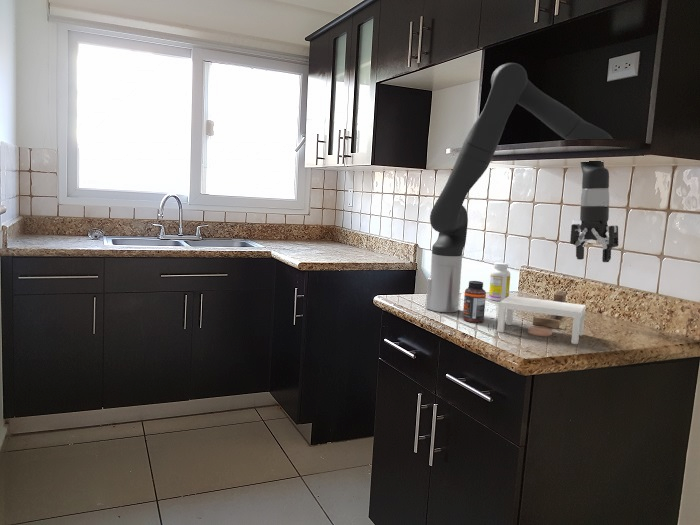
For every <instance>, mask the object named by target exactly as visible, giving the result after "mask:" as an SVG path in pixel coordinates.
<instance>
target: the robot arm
mask: <svg viewBox="0 0 700 525" xmlns="http://www.w3.org/2000/svg"><path fill="white" fill-rule="evenodd" d="M490 84H491V85H490V86H491V88H490V91H489V94H488V97H487V100H486V103H485V104H484V107H483V109H482V111H481V113H479V116H478V118H477V119H476V120H475V122H474V123H473V125H472V127H471V128H470V130H469V132H468V133H467V135H466V137H465V139H464V141H463V143H462V146H461V148H460V150H459V152H458V156H457V158H456V160H455V163H454V165H453V167H452V170H451V172H450V174H449V177H448V179H447V181H446V183H445V186H444V187H443V189H442V191H441V193H440V194H439V196H438V198H437V200H436V201H435V203H434V205H433V207H432V208H431V211H430V215H429V222H430V226H431V228H432V229H433V230H434V231H435V232H437V233H438V237H437V238H436V240H435V242H434V243H433V244H432V247H431V263H430V277H428V278H427V289H426V303H425V304H426V306H425V308H426V310H430V311H433V312H440V313H457V312H458V311H459V306H460V293H461V292H460V290H461V278H462V277H461V275H462V262H463V253H464V252H463V251H464V248H465V245H466V244H467V234H468V233H467V232H468V224H469V217H468V216H469V215H468V211H467V209H466V207H465V206H464V205H463V204H464V201H465V199H466V197H467V195H468V194H469V192H470V191H471V189H472V188H473V187H474V186H475V184H476V183H477V182H478V181H479V180H480V179H481V177H482V176H483V174H484V173H485V172H486V170H487V169H488V168H489V166H490V164H491V161H492V159H493V157H494V154H495V153H496V150H497V147H498V145H499V143H500V140H501V138H502V135H503V132H504V130H505V128H506V127H505V126H506V124H507V121H508V119H509V117H510V115H511V114H512V111H513V110H514V107H515V106H516V105H519V106H521V107H523V109H525V110H526V111H528V112H529V113H531V114H532V115H533V116H535V117H536V118H537V119H539V120H540V122H541V123H543V124H545V126H547V127H548V128H549V129H550V130H552V131H553V132H554V133H555V134H557V135H558V136H560V137H561V138H562V139H564V140H566V141H567V140H578V139H613V137H612V136H611V135H610V134H609V133H608V132H607V131H605V130H603V129H602V128H600V127H598V126H596V125H594V124H592V123H590V122H587V121H586V120H585V119H583V118H582V117H581V116H579V115H578V114H577V113H575V111H573V110H571V109H570V108H569V107H567V106H566V105H564V104H562V103H560V102H559V101H558V100H556V99H554V98H552V97H551V96H549V95H548V94H547V93H544V92H543V91H542V90H541V89H539V88H538V87H536V86H535V85H534V84H533V83H532V81H530V80H529V79H528V73H527V71H526V69H525V68H524V66H522V65H521V64H519V63H517V62H506V63H504V64H501V65H499V66H498V67H497V68H495V70H494V71H493V72H492V74H491V78H490ZM580 167H581V170H582V171H581V172H582V180H581V181H582V182H581V184H582V185H581V193H580V194H581V195H580V214H579V216H580V218H579V220H580V222H581V224H580V223H575V224H571V226H570V240H569V242H570V245H574V247H575V257H576V259H577V260H583V259H584V258H585V246H584V245H585V244H586V243H587V242H588V241H589V240H590V241H591V240H592V241H597V242H598V243H599V244H601V246H602V248H603V249H602V257H601V259H602V260H601V261H602V263H609V262H610V261H611V259H612V249H613V248H616V247H617V248H618V247H619V226H618V225H608V221H609V220H610V218H609V217H610V215H609V214H610V191H609V190H610V189H609V188H610V173H609V169H608V168H606V167H605V161H604V162H601V161H589V162H580ZM607 233H608V235H607Z"/></svg>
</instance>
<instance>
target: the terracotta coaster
mask: <svg viewBox="0 0 700 525" xmlns="http://www.w3.org/2000/svg"><path fill="white" fill-rule="evenodd" d="M527 329H528V330H527V333H528V334H531V335H533V336H539V337H551V336H552V335H553V329H552V328H551V327H544V326H537V325H532V326H531V325H530V326H528V328H527Z"/></svg>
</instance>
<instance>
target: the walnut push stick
mask: <svg viewBox="0 0 700 525" xmlns="http://www.w3.org/2000/svg"><path fill="white" fill-rule="evenodd" d="M566 296H567V292H566V291H561V290H559V291H558V290H557V291H556V292H555V293H554V294H553V300H552V301H556V302H564V303H566V300H567V298H566ZM556 318H557V315H549V314H546V316H545V317H539V316H533V318H532V326H542V327H547V328H550V329H552V328H553V329H560V325H561V320H560V319H556Z"/></svg>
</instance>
